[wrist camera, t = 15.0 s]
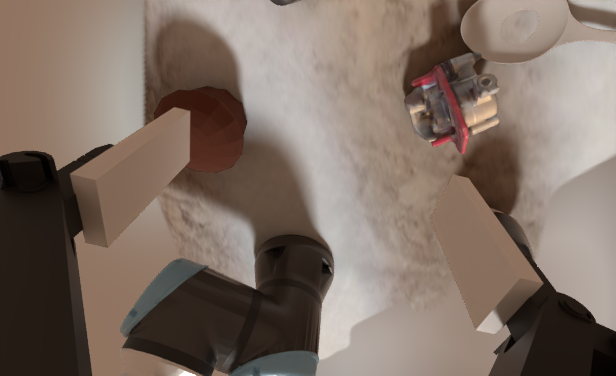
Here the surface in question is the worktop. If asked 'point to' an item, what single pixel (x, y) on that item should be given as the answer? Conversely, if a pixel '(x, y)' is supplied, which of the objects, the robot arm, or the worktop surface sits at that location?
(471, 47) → the spoon
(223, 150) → the muffin
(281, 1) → the stand rod
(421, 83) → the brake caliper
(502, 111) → the worktop surface
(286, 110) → the worktop surface
